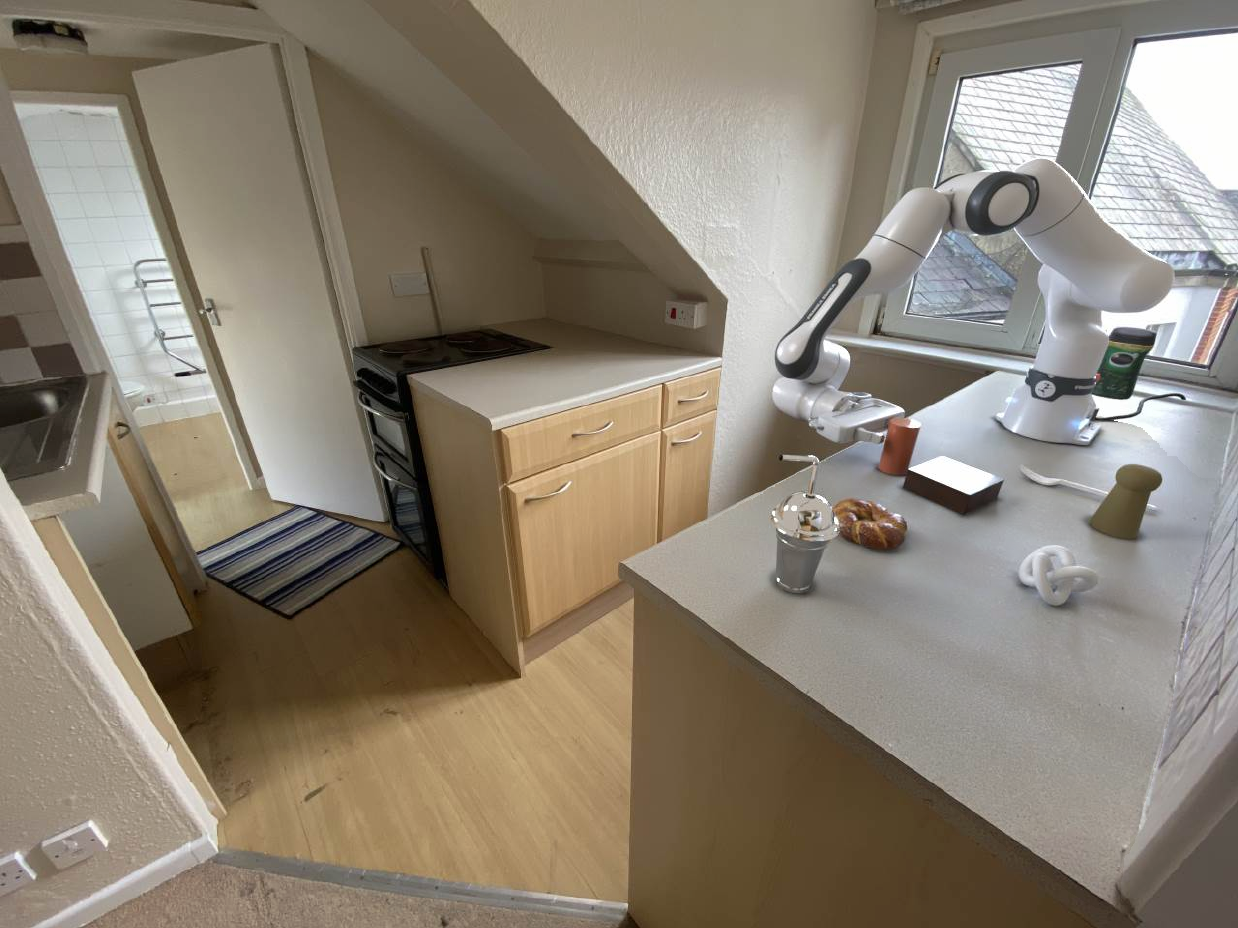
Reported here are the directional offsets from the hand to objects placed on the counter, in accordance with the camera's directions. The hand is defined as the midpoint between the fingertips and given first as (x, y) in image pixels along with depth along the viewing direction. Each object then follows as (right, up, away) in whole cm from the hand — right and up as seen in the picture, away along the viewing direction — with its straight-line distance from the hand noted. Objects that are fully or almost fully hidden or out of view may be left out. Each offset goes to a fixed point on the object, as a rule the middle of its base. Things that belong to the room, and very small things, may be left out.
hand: (897, 435), depth 101 cm
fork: (+31, -11, -5) cm, 33 cm away
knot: (+4, -23, -30) cm, 38 cm away
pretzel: (-14, -16, -17) cm, 28 cm away
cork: (+27, -16, -16) cm, 35 cm away
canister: (0, -7, +2) cm, 7 cm away
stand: (+6, -11, -6) cm, 14 cm away
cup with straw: (-30, -22, -29) cm, 47 cm away
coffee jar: (+82, +13, +45) cm, 94 cm away
